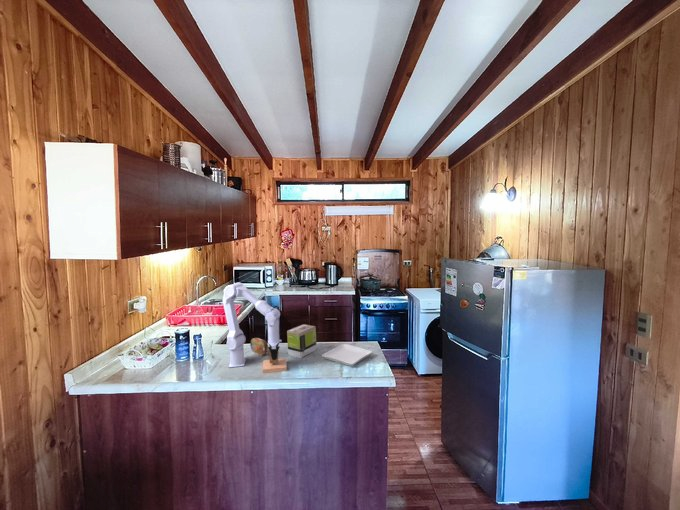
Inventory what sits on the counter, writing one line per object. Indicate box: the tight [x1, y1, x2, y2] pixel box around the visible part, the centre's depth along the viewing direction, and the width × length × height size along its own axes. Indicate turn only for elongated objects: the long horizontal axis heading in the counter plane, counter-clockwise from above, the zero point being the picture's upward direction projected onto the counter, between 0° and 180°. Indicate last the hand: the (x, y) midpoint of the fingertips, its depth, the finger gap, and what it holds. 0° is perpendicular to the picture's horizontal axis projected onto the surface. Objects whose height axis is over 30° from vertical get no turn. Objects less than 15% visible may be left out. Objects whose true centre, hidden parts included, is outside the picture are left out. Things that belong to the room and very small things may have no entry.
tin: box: [249, 337, 269, 356], centre depth 191 cm, size 15×3×8 cm, turn 48°
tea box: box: [286, 324, 318, 359], centre depth 190 cm, size 15×10×15 cm
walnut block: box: [268, 350, 279, 363], centre depth 171 cm, size 4×4×6 cm
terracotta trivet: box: [262, 357, 288, 374], centre depth 171 cm, size 12×12×2 cm
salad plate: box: [321, 343, 373, 367], centre depth 182 cm, size 21×21×3 cm
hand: (274, 357), depth 171 cm, fingers closed on walnut block, 4 cm apart
